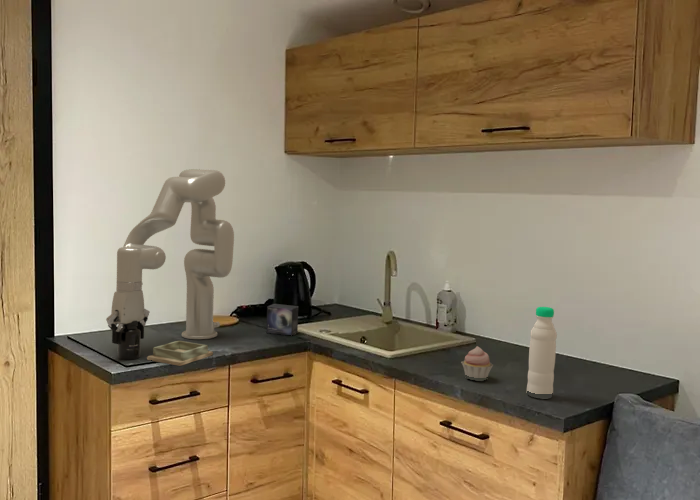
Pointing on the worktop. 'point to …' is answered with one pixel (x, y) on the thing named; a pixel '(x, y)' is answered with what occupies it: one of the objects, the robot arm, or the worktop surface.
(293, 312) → the small box
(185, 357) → the board
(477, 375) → the cupcake
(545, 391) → the white milk bottle
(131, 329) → the supplement bottle
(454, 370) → the worktop surface
